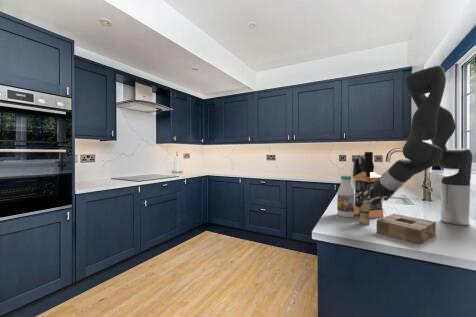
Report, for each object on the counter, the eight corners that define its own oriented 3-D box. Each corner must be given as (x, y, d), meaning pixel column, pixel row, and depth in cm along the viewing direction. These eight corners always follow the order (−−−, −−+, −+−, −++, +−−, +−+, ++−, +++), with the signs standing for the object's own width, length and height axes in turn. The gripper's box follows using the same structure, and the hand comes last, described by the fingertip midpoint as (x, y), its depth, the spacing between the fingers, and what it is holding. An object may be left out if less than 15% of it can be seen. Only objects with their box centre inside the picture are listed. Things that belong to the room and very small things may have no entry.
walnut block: (393, 225, 97) (393, 213, 97) (435, 234, 85) (435, 221, 85) (376, 232, 88) (376, 220, 88) (420, 244, 76) (420, 230, 76)
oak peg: (361, 221, 101) (362, 191, 101) (372, 224, 98) (372, 192, 98) (356, 223, 99) (357, 192, 99) (367, 226, 95) (367, 193, 95)
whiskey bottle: (367, 218, 106) (368, 151, 105) (352, 213, 116) (352, 151, 115) (384, 217, 109) (385, 151, 108) (368, 211, 119) (368, 151, 118)
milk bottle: (339, 212, 117) (339, 174, 117) (355, 215, 113) (355, 175, 112) (335, 216, 111) (336, 176, 110) (353, 218, 106) (353, 177, 106)
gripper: (397, 174, 91) (373, 197, 102) (369, 175, 87) (347, 198, 98) (410, 189, 86) (383, 211, 97) (380, 191, 82) (356, 213, 93)
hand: (365, 205), depth 98 cm, fingers open, 8 cm apart
